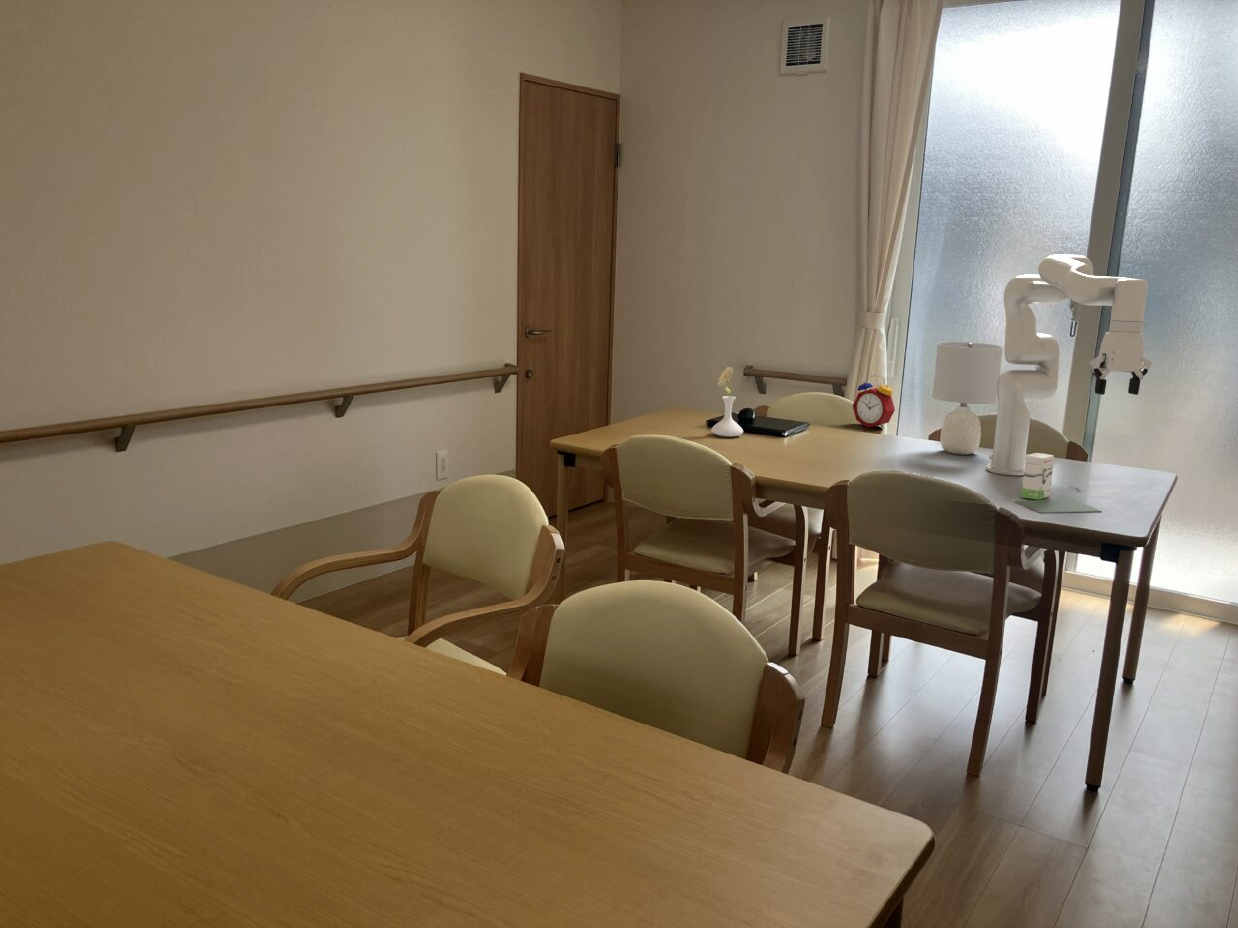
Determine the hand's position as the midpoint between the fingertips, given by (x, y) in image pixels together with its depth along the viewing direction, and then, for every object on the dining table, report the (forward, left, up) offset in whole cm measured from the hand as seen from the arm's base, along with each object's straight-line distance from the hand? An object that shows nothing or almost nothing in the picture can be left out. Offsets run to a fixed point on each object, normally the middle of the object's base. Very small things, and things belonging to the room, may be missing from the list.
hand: (1116, 394), depth 258 cm
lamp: (-73, -1, -31) cm, 79 cm away
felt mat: (-4, -10, -31) cm, 33 cm away
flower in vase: (-104, -73, -31) cm, 131 cm away
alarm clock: (-121, -10, -31) cm, 125 cm away
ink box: (-14, -10, -31) cm, 36 cm away
